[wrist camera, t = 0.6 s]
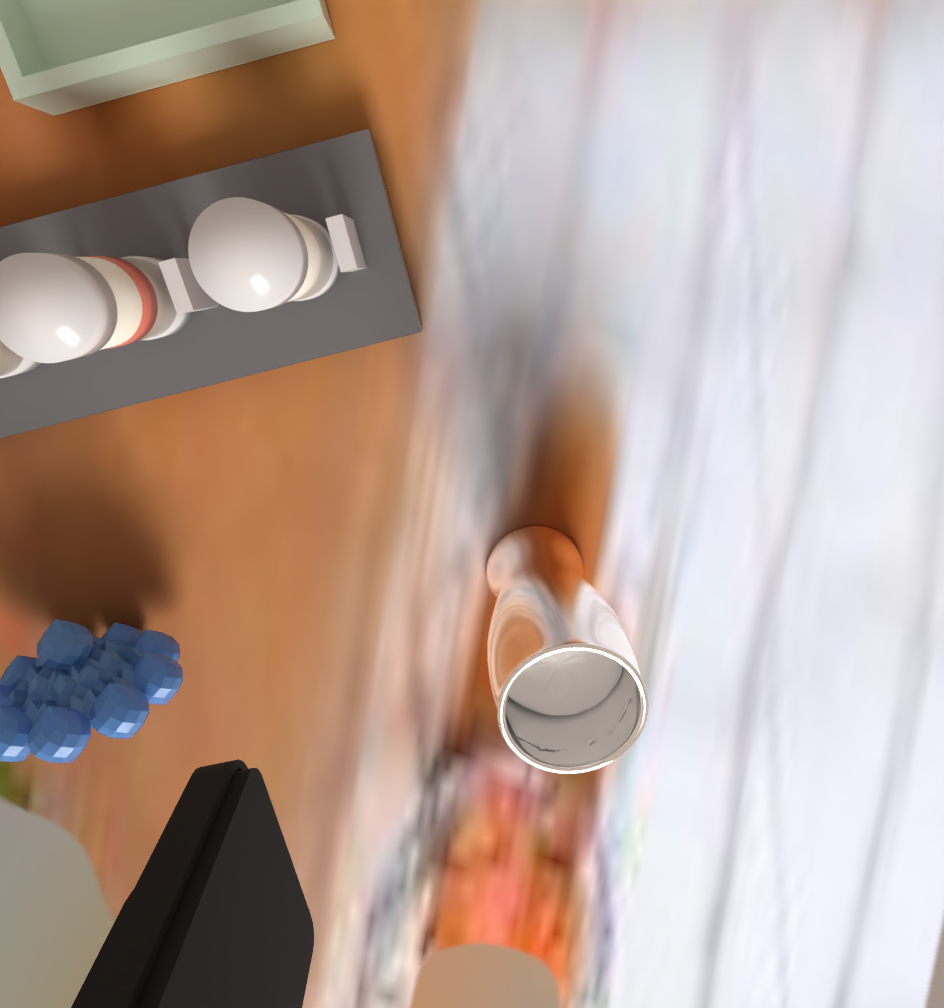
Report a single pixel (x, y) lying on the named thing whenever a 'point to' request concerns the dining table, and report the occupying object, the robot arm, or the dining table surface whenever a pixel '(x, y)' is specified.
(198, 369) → the fuse holder
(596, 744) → the beer glass
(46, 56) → the tray
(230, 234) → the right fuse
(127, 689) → the grapes
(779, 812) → the dining table surface
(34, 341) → the cylinder
